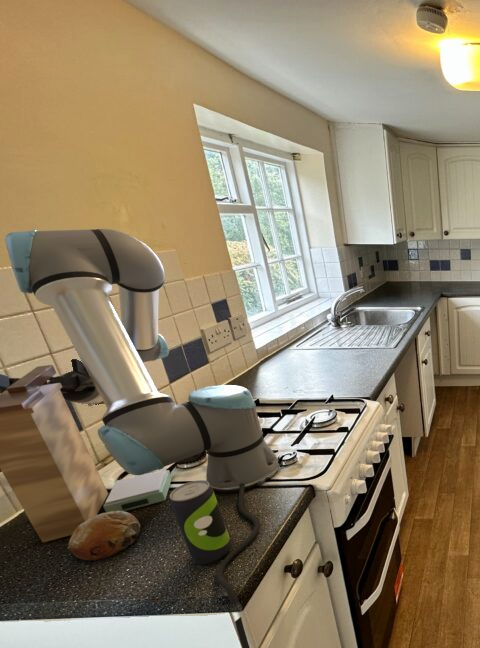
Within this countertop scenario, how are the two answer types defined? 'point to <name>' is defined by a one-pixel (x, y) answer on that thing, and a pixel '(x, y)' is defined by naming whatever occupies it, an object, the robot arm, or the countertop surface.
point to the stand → (50, 465)
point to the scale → (138, 491)
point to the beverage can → (200, 521)
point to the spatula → (26, 389)
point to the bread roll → (104, 535)
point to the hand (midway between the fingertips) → (31, 370)
